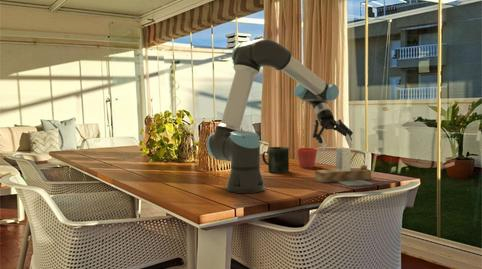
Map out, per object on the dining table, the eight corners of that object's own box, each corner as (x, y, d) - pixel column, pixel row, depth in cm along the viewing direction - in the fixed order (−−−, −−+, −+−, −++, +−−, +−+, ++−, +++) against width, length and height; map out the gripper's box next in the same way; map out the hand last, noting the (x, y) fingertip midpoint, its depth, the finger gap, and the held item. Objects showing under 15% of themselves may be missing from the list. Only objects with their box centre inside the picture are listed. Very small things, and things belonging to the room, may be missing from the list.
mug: (284, 174, 201) (284, 149, 200) (257, 171, 208) (257, 148, 207) (292, 170, 210) (292, 147, 209) (267, 168, 217) (267, 146, 216)
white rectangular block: (342, 171, 182) (342, 149, 182) (335, 169, 188) (336, 147, 187) (350, 171, 183) (350, 148, 183) (343, 169, 189) (344, 147, 188)
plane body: (321, 182, 180) (321, 169, 179) (314, 179, 186) (314, 166, 186) (371, 178, 186) (371, 166, 185) (362, 176, 192) (363, 164, 192)
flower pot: (293, 165, 226) (293, 148, 226) (311, 164, 230) (311, 147, 229) (301, 168, 216) (301, 150, 216) (320, 167, 220) (320, 149, 219)
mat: (348, 186, 170) (348, 185, 170) (337, 182, 178) (337, 181, 178) (373, 184, 173) (373, 183, 172) (362, 180, 181) (362, 179, 181)
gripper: (343, 118, 211) (359, 151, 197) (298, 119, 204) (311, 153, 191) (349, 108, 205) (365, 141, 192) (303, 109, 199) (316, 143, 186)
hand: (338, 147), depth 191 cm, fingers open, 13 cm apart
